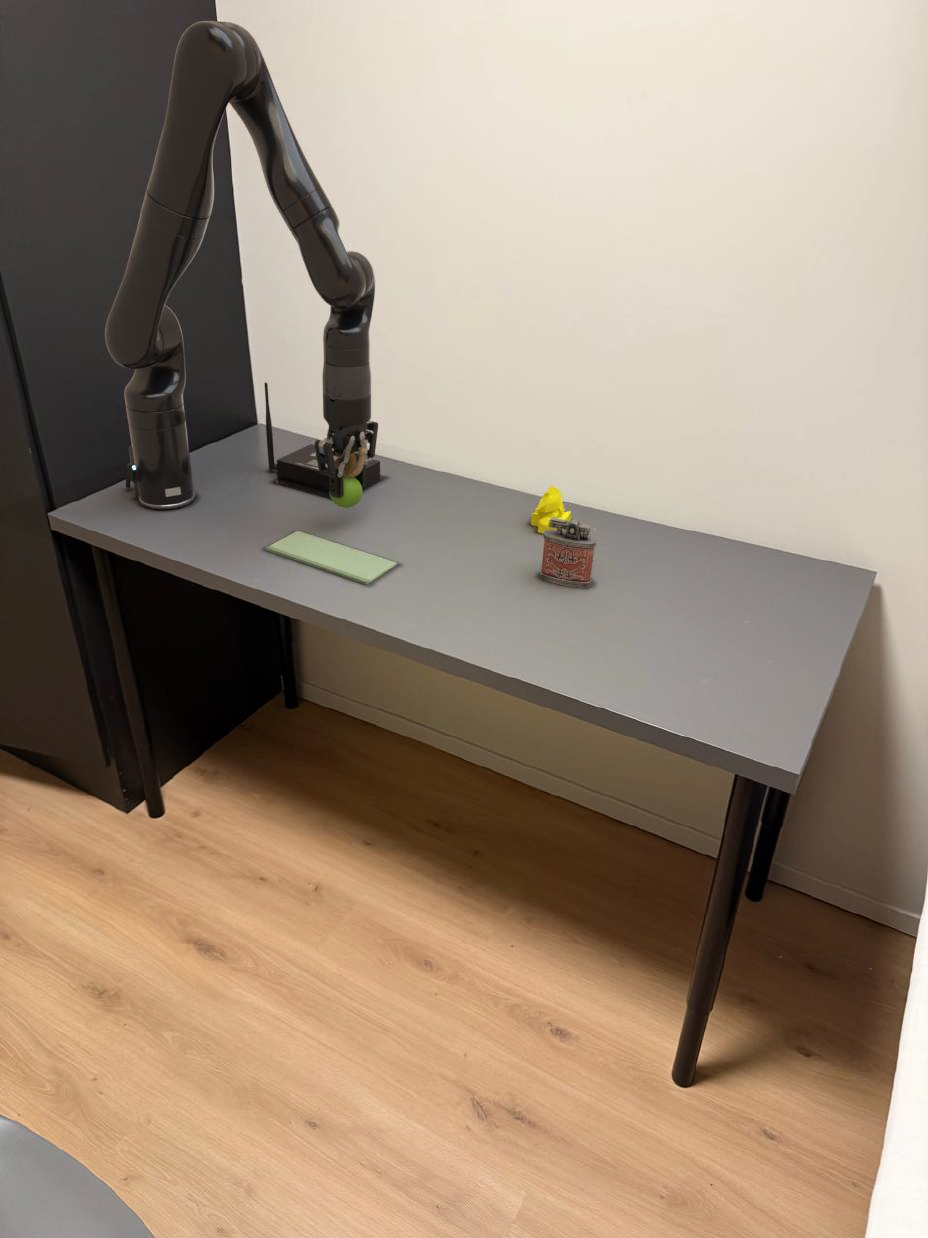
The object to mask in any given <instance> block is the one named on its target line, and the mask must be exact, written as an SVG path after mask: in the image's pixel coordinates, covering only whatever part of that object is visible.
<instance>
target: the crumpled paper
mask: <svg viewBox="0 0 928 1238" xmlns="http://www.w3.org/2000/svg"><path fill="white" fill-rule="evenodd" d="M551 518H558V519H563V520H566V521H569V522H571V521H572V520H571V519H572V511H571V510H570V511H566V508H565V505H564V503H563V496H562V491H561V490H560V489H558V488H557V487H555V486H554V485H551V486H550V487H549V488H548V489H547V490H546V491H545V493H544V494H543V495H542V497H541V498H540V500H539V503H538V505H537V507H536V508H535V509H534V512H532V513H531V519H530V525H531V526H533V527H537V533H539V534H543V535H544V532H545V531H546V530H550V529H552V530H557V529H556V528H551V527H549V523H550V519H551ZM562 531H565V530H562Z"/></svg>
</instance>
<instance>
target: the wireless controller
mask: <svg viewBox="0 0 928 1238" xmlns="http://www.w3.org/2000/svg"><path fill="white" fill-rule="evenodd" d="M263 385H264V398H265V433H266V446H267V447H266V448H267V460H268V461H267V462H268V470H269V471H273V470H275V471H277V479H276V480H274V481H273V482H272V483H273V484H274V485H275V484H276V485H279V486H282V487H285V488H290V489H293V490H298V491H301V492H304V493H308V494H312V495H315V496H318V497H322V498H326V499H330V500H332V499H331V497H330V493H329V486H330V485H329V476H328V475H324V474H320V472H319V467H318V461H317V456H316V450H315V444H313V443H309V444H308V445H306V446H304V447H301V448H299V449H297V450H295V451H293V452H291V453H288V454H286V455H284V456H282V457H280V458H277V459H276V463H275V453H274V452H275V451H274V449H275V448H274V436H273V435H274V434H273V423H272V417H271V410H270V409H271V408H270V399H269V398H270V397H269V385H268V382H264V384H263ZM325 465H326V467H327V464H325ZM383 479H385V477H384V476H382V475H381V460H376V459H373V458H371V459H369V461H368V464H367V465H366V484H365V485H364V486H362V491H364V490H366V489H367V488H370V487H371V486H373V485H375V484H376V483H378V482H380V481H382V480H383Z"/></svg>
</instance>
